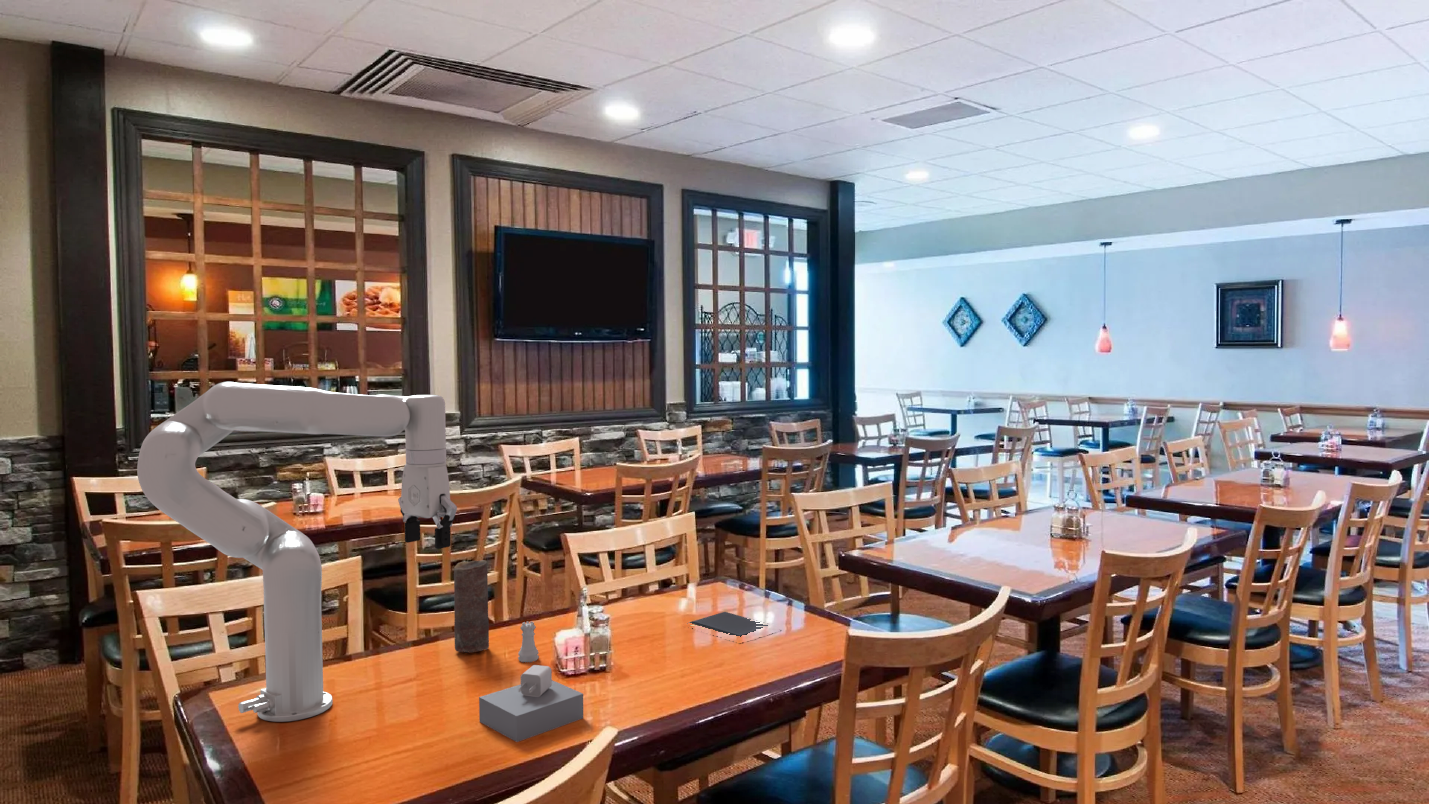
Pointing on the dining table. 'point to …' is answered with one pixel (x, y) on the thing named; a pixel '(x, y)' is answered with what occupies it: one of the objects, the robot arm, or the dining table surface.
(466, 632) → the dark brown rough pillar
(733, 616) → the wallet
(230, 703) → the dining table surface
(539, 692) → the usb wall charger
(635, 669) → the dining table surface
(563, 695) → the base block
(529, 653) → the rook chess piece
